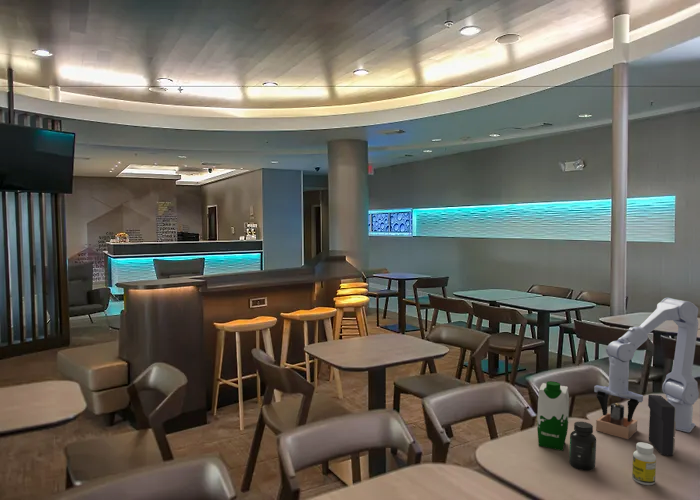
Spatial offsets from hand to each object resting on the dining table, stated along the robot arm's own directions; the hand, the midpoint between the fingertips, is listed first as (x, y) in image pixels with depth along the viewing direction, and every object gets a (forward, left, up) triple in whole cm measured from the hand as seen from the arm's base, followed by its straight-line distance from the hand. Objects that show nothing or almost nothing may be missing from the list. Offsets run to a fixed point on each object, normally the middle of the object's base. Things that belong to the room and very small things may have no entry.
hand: (617, 417), depth 171 cm
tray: (0, 0, -4) cm, 4 cm away
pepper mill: (0, 0, -4) cm, 4 cm away
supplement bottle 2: (+31, +16, -5) cm, 35 cm away
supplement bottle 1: (+34, +1, -5) cm, 34 cm away
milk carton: (+26, -11, -5) cm, 29 cm away
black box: (+5, +14, -5) cm, 15 cm away
